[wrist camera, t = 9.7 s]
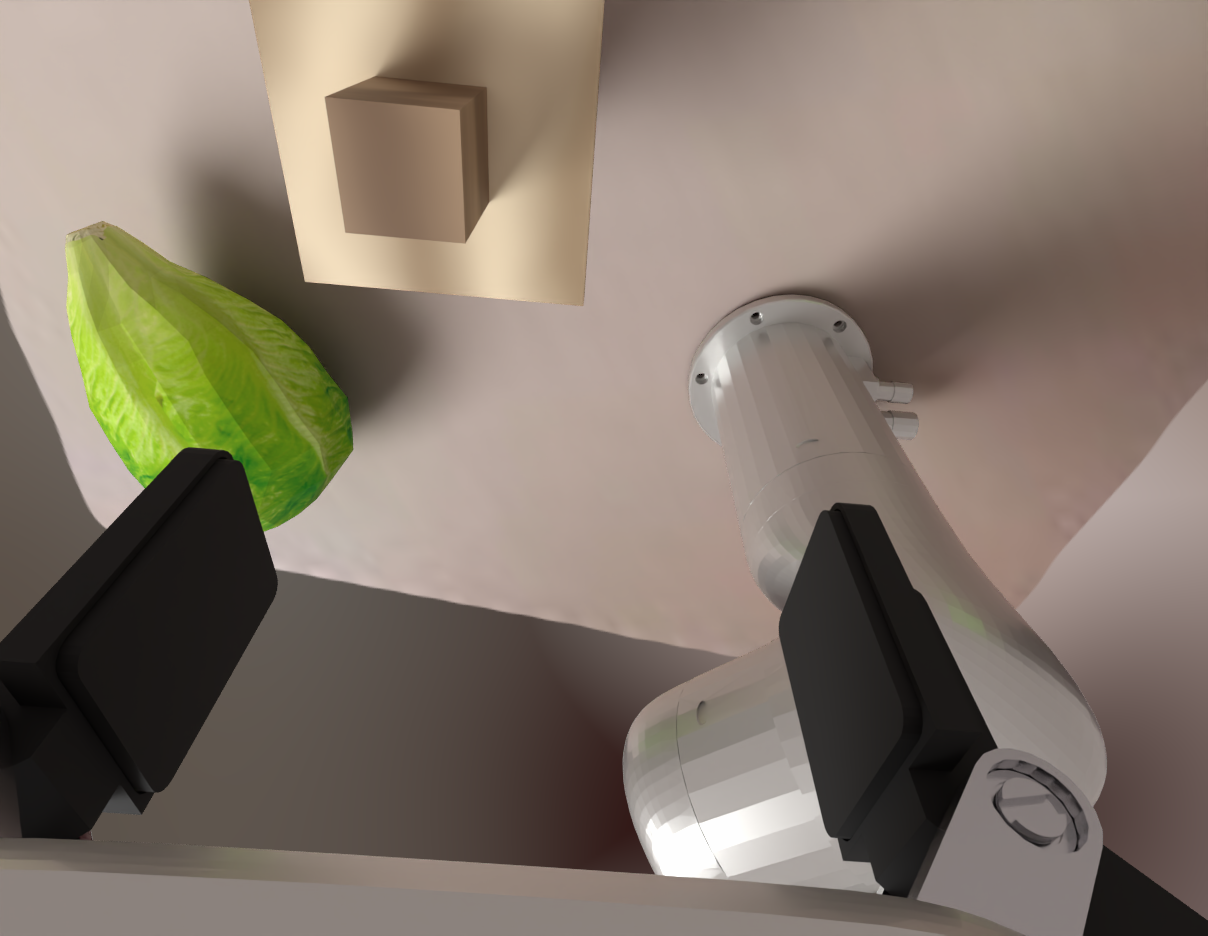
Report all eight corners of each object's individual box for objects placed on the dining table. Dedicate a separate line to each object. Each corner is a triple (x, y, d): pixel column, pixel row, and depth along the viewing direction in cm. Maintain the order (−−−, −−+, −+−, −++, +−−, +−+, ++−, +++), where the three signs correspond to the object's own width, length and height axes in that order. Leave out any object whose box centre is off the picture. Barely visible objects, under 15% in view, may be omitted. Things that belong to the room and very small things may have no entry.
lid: (607, -41, 22) (603, -46, 17) (584, 295, 29) (576, 360, 24) (249, -79, 22) (141, -94, 17) (315, 271, 29) (252, 332, 24)
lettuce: (250, 162, 39) (127, 223, 29) (406, 434, 50) (355, 542, 40) (61, 228, 41) (-108, 305, 32) (251, 473, 53) (169, 583, 43)
